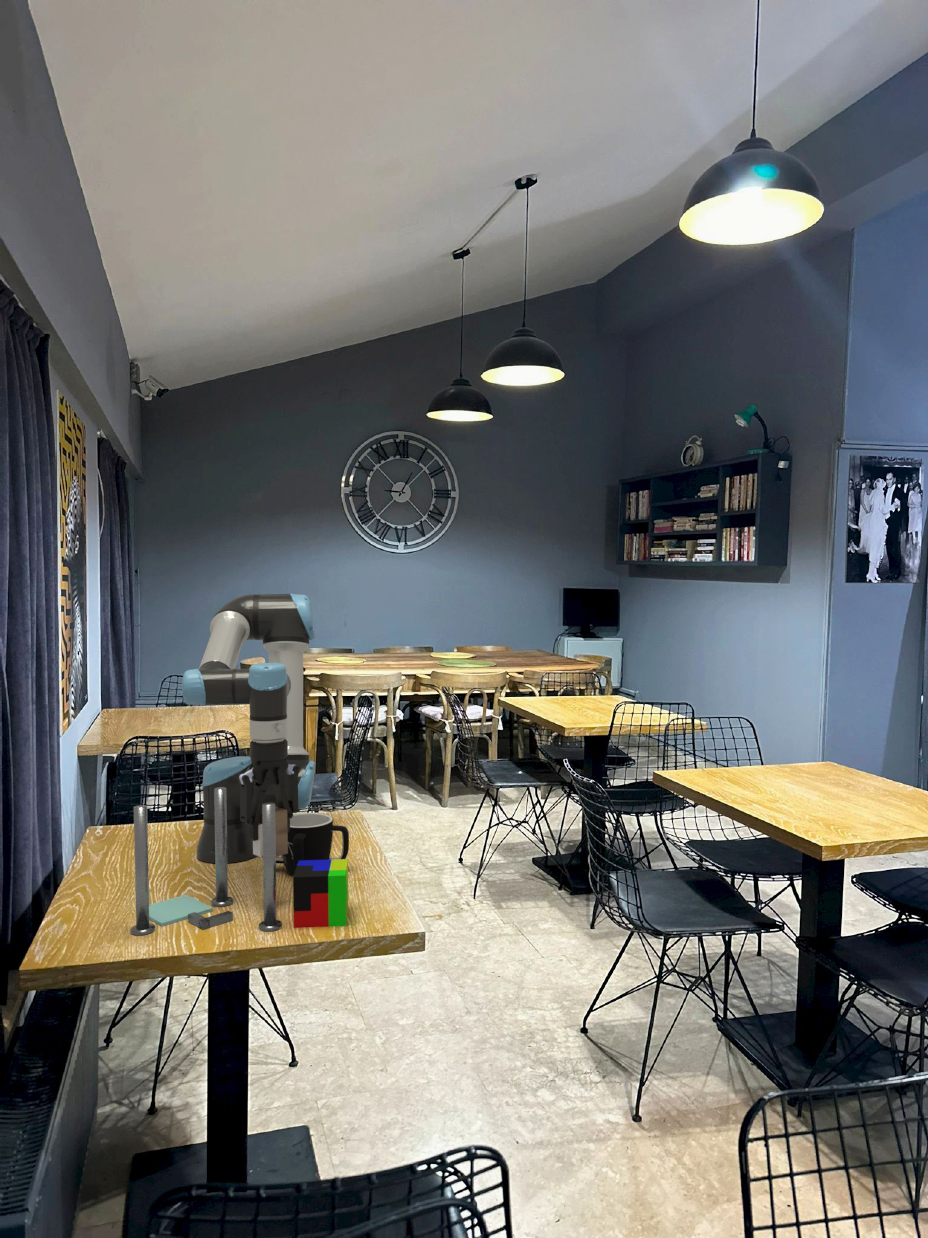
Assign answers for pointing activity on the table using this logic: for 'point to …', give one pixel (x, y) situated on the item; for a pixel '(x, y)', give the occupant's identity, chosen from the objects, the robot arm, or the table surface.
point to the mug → (311, 840)
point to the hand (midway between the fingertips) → (270, 851)
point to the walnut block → (280, 831)
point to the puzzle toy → (320, 893)
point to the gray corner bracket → (209, 919)
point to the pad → (176, 909)
